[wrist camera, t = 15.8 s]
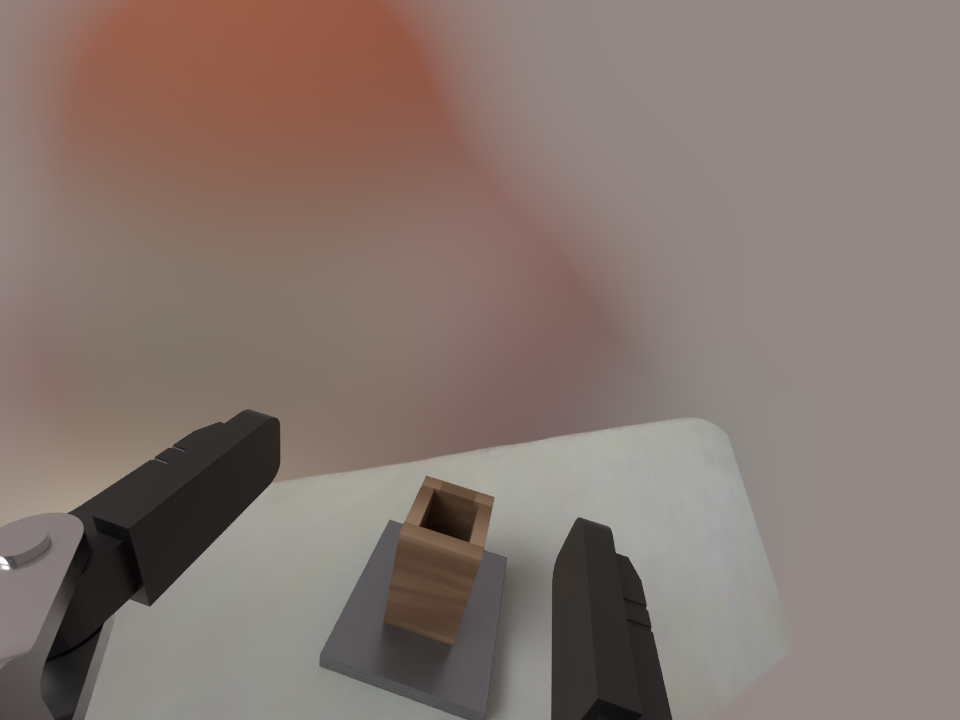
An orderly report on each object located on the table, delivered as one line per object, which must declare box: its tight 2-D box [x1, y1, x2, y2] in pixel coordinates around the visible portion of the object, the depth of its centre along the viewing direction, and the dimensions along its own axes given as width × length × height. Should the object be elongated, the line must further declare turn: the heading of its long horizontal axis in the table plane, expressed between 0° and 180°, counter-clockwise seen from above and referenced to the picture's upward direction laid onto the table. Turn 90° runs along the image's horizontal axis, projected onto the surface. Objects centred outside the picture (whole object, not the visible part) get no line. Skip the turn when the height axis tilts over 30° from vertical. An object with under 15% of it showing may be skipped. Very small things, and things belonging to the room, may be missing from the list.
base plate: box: [320, 520, 507, 720], centre depth 30 cm, size 12×12×6 cm
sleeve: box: [383, 476, 494, 646], centre depth 29 cm, size 6×6×10 cm
